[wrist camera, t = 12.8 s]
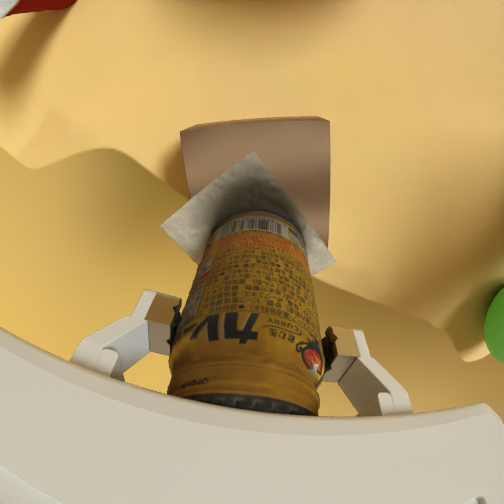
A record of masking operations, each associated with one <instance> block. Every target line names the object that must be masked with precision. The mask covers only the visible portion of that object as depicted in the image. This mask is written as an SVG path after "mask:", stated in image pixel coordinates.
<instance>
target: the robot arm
mask: <svg viewBox="0 0 504 504" xmlns="http://www.w3.org/2000/svg"><path fill="white" fill-rule="evenodd" d="M181 303H182V299H181V298H178V297H174V296H170V295H166V294H163V293H159V292H154V291H151V290H147V289H146V290H145V291H144V292H143V294H142V295H141V297H140V299H139V301H138V303H137V305H136V307H135V309H134V310H133V312H132V314H131V316H129V315H127V316H125V317H123V318H121V319H119V320H117V321H115V322H113V323H111V324H109V325H108V326H106V327H104V328H102V329H100V330H98V331H96V332H94V333H92V334H91V335H89V336H87V337H85V338H83V339H82V340H81V342H80V344H79V346H78V347H77V349H76V351H75V353H74V354H73V356H72V358H71V360H70V361H67V360H65V359H63V358H60V357H58V356H56V355H54V354H51V353H49V352H47V351H45V350H43V349H41V348H39V347H37V346H35V345H33V344H30V343H29V342H27V341H25V340H23V339H21V338H19V337H17V336H16V335H14V334H12V333H10V332H8V331H7V330H5V329H3V328H1V327H0V504H504V425H503V423H502V420H501V419H500V417H499V416H498V415H497V414H496V413H495V412H494V411H493V410H492V409H491V408H490V407H489V406H488V405H487V404H486V403H484V402H478V403H473V404H469V405H464V406H458V407H453V408H447V409H441V410H434V411H427V412H420V413H413V410H412V407H411V403H410V400H409V397H408V394H407V391H406V390H405V389H404V388H403V387H402V386H401V385H400V384H399V383H398V382H397V381H396V380H395V379H394V378H393V377H392V376H391V375H390V374H389V373H388V372H387V371H386V370H385V369H384V368H383V367H382V366H381V365H380V364H379V363H378V362H377V361H376V360H375V359H374V358H371V356H370V352H369V349H368V346H367V343H366V339H365V337H364V333H363V331H362V330H357V329H348V328H340V327H332V326H329V327H328V328H327V330H326V332H325V335H326V337H324V338H323V339H321V342H322V348H323V356H324V358H325V370H324V376H323V380H322V381H327V382H337V383H338V385H339V386H340V387H341V389H342V390H343V392H344V393H345V395H346V396H347V397H348V399H349V400H350V401H351V403H352V404H353V406H354V407H355V409H356V410H357V412H358V413H359V414H358V415H356V416H355V417H327V416H303V415H289V414H277V413H267V412H259V411H251V410H244V409H237V408H231V407H225V406H219V405H214V404H208V403H203V402H198V401H194V400H189V399H185V398H180V397H176V396H172V395H168V394H164V393H160V392H157V391H153V390H149V389H146V388H142V387H139V386H136V385H133V384H129V383H126V382H125V380H124V376H123V373H124V372H125V371H126V370H127V369H129V368H130V367H131V366H133V365H134V364H135V363H136V362H138V361H139V360H140V359H141V358H143V357H144V356H145V355H147V354H148V353H149V351H151V352H155V353H159V354H163V355H168V356H169V354H170V350H171V346H172V342H173V340H174V337H175V334H176V330H177V327H178V324H179V321H180V318H181V313H180V312H179V311H180V308H181Z"/></svg>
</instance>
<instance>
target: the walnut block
mask: <svg viewBox="0 0 504 504" xmlns="http://www.w3.org/2000/svg"><path fill="white" fill-rule="evenodd" d="M180 138H181V145H182V151H183V158H184V164H185V171H186V177H187V183H188V189H189V195H190V199H192V198H193V197H194V196H195V195H196V194H198V193H199V192H200V191H202V190H203V189H204V188H205V187H207V186H208V185H209V184H210V183H212V182H213V181H214V180H215V179H216V178H218V177H219V176H221V175H222V174H223V173H224V172H226V171H227V170H228V169H230V168H231V167H232V166H234V165H235V164H236V163H238V162H239V161H241V160H242V159H243V158H245V157H246V156H247V155H249V154H250V153H252V152H253V151H254V152H255V153H256V155H257V156H258V157H259V158H260V159H261V161H262V162H263V163H264V165H265V166H266V167H267V168H268V170H269V171H270V172H271V173H272V174H273V176H274V177H275V178H276V179H277V181H278V182H279V183H280V185H281V186H282V187H283V189H284V190H285V191H286V192H287V194H288V195H289V197H290V198H291V199H292V201H293V202H294V203H295V205H296V206H297V207H298V208H299V209H300V211H301V212H302V214H303V215H304V216H305V218H306V219H307V220H308V222H309V223H310V224H311V226H312V227H313V229H314V230H315V231H316V233H317V234H318V236H319V237H320V238H321V240H322V241H323V243H324V244H325V246H326V247H327V248H328V235H329V211H330V121H328V120H326V119H323V118H320V117H318V116H301V117H272V118H255V119H243V120H232V121H222V122H214V123H206V124H198V125H194V126H192V127H190V128H187V129H185V130H183V131H180Z"/></svg>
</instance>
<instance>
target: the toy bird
mask: <svg viewBox="0 0 504 504" xmlns="http://www.w3.org/2000/svg"><path fill="white" fill-rule="evenodd" d="M484 338H485V342H486V345H487V347H488V349H489V351H490V353H491V354H492V355H493V356H494V358H496V359H497V360H498V361H500V362H501V363H503V364H504V287H503V288H502V289H501V290H500V291H499V293H498V294H497V295H496V296H495V298H494V299H493V301H492V303H491V305H490V307H489V309H488V312H487V314H486V318H485V322H484Z"/></svg>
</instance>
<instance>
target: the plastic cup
mask: <svg viewBox="0 0 504 504" xmlns="http://www.w3.org/2000/svg"><path fill="white" fill-rule="evenodd" d="M75 1H76V0H0V19H1V18H4V17H6V16H10V15H12V14H20V13H28V12H38V11H44V10H58V9H63V8H66V7H68V6H70V5H71V4H72V3H74V2H75Z"/></svg>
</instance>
